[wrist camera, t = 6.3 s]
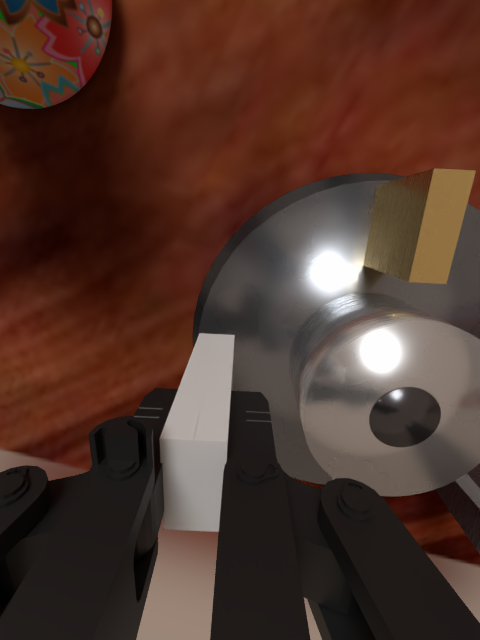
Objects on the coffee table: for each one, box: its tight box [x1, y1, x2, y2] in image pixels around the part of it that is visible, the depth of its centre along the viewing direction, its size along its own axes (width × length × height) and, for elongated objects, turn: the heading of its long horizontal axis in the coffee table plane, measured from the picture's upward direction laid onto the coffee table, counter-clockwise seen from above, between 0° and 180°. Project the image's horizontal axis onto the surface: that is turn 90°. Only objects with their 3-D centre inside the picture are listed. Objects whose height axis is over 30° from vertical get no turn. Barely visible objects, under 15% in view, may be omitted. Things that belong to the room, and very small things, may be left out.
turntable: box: [198, 169, 480, 485], centre depth 14 cm, size 16×16×6 cm
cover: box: [289, 293, 480, 496], centre depth 13 cm, size 7×7×5 cm
